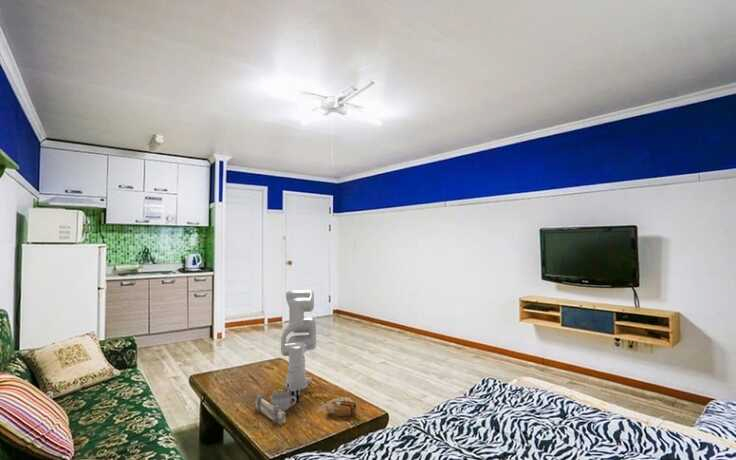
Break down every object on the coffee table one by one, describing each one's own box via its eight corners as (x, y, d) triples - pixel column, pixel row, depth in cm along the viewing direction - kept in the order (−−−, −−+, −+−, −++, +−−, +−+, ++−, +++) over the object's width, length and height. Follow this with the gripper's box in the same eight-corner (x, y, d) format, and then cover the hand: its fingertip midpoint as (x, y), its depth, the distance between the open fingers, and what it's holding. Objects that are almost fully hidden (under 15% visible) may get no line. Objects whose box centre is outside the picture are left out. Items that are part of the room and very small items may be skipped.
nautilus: (369, 419, 189) (345, 431, 179) (343, 403, 205) (320, 413, 195) (369, 404, 188) (345, 414, 178) (343, 389, 204) (320, 398, 195)
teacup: (266, 413, 196) (266, 397, 196) (277, 404, 206) (277, 390, 207) (289, 416, 192) (289, 400, 192) (300, 407, 202) (299, 392, 202)
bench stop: (260, 407, 204) (260, 392, 204) (285, 423, 185) (285, 406, 185) (253, 409, 201) (253, 394, 201) (277, 426, 182) (277, 409, 182)
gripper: (303, 363, 213) (303, 396, 212) (280, 370, 202) (280, 404, 202) (311, 366, 207) (311, 400, 207) (287, 373, 197) (287, 408, 196)
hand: (296, 402), depth 204 cm, fingers closed
